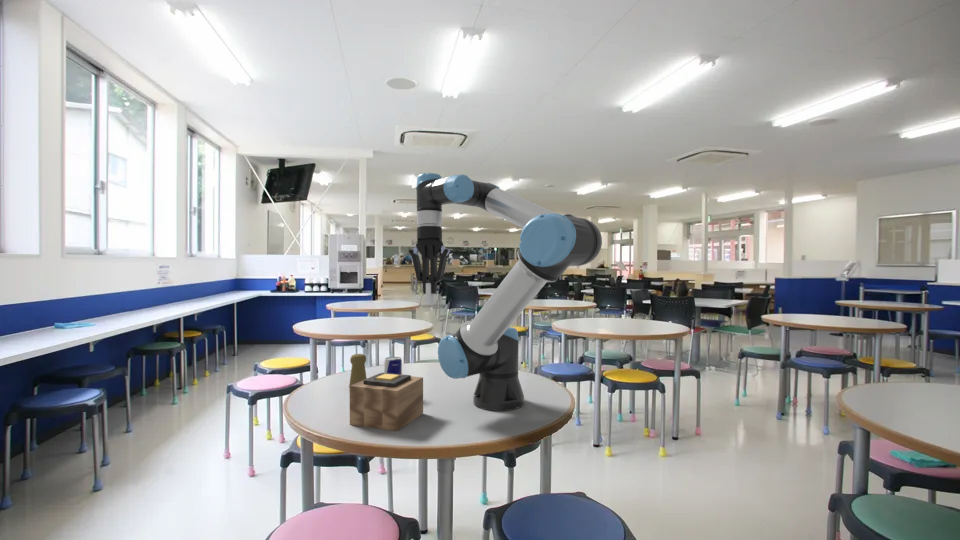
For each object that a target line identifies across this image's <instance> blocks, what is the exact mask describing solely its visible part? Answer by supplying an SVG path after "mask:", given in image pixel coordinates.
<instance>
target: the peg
mask: <svg viewBox="0 0 960 540" xmlns="http://www.w3.org/2000/svg"><path fill="white" fill-rule="evenodd" d="M397 378H399V375H393V374H383V375H381V376H378V377H376V380H384V381H393V380H395V379H397Z"/></svg>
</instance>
